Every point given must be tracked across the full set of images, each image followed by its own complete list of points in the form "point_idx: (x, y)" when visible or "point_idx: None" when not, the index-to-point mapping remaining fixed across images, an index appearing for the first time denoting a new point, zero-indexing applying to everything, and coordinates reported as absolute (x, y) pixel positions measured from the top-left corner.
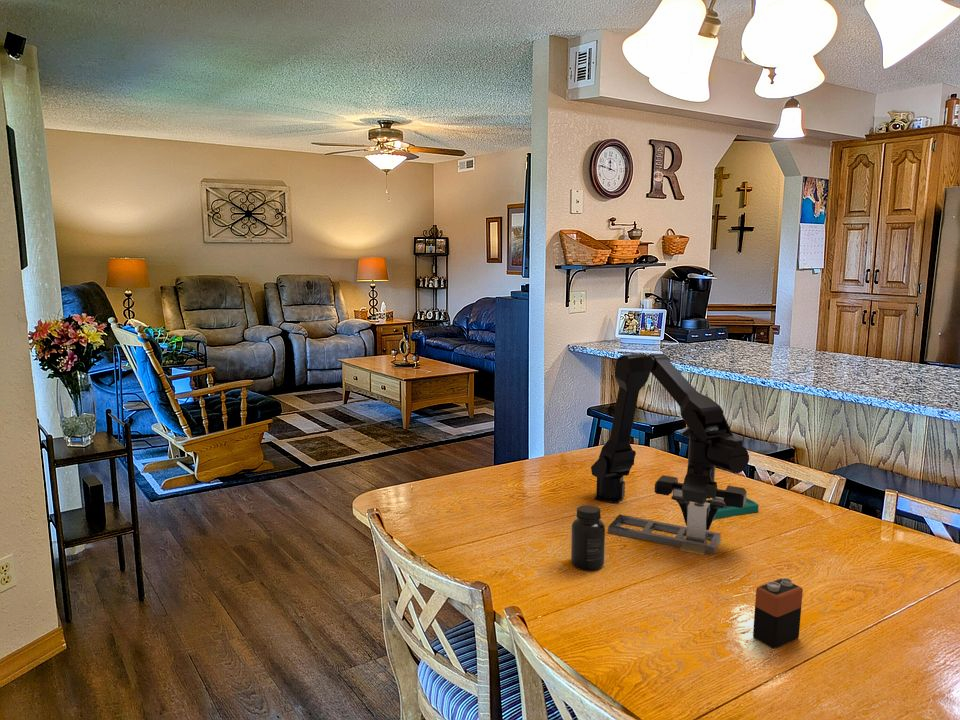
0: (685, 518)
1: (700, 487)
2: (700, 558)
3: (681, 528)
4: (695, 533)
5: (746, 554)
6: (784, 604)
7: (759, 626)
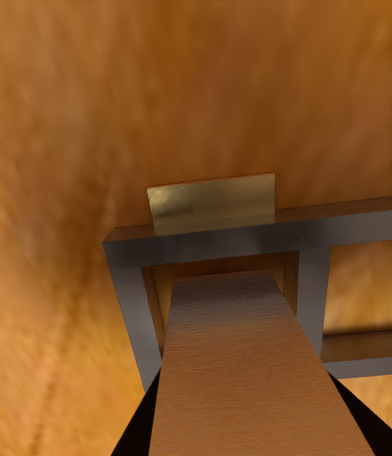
0: (343, 397)
1: None
2: (147, 137)
3: None
4: (228, 303)
5: (9, 304)
6: None
7: None
